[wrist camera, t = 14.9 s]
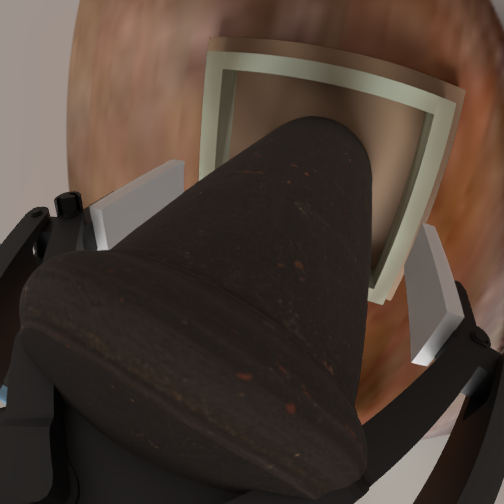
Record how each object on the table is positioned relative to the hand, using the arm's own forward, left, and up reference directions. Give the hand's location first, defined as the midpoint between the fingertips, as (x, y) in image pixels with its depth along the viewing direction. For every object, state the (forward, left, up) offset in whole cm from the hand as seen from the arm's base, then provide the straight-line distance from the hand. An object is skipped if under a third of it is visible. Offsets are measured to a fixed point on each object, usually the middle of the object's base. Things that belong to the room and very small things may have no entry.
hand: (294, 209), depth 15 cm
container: (0, 0, -7) cm, 7 cm away
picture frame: (0, 0, -8) cm, 8 cm away
